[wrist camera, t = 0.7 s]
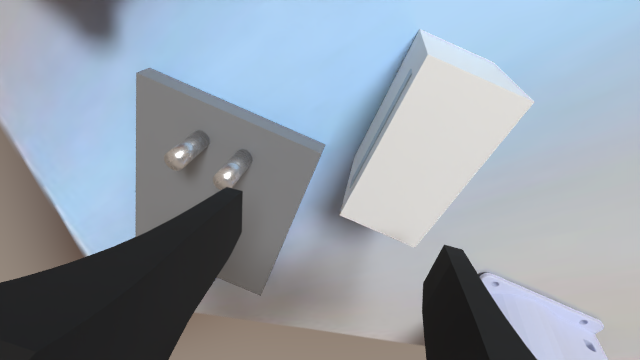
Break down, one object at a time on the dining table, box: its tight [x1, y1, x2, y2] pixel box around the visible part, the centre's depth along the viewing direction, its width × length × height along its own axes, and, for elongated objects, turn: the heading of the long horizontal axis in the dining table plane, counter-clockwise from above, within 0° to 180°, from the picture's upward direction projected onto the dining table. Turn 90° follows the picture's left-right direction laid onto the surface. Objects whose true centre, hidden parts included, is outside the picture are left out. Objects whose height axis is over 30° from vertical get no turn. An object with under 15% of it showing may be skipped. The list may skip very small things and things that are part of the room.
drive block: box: [340, 29, 534, 248], centre depth 15 cm, size 4×8×6 cm, turn 160°
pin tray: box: [136, 68, 325, 296], centre depth 23 cm, size 12×16×4 cm
